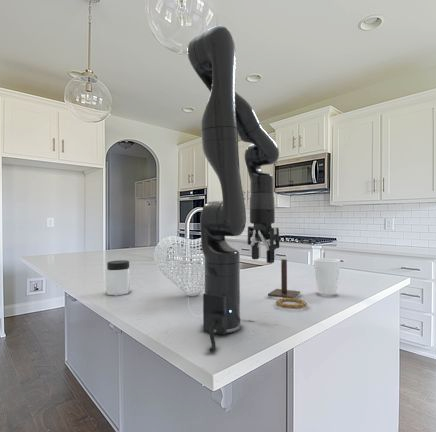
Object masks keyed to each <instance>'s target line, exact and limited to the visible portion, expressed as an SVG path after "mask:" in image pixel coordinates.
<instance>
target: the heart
mask: <svg viewBox="0 0 436 432" xmlns="http://www.w3.org/2000/svg"><path fill="white" fill-rule="evenodd" d="M174 247H175V249H174ZM178 248H179V249H178ZM191 251H193V252H191ZM174 252H175V253H174ZM201 253H202V255H201ZM191 255H192V256H191ZM194 255H195V256H194ZM153 258H154V263H155V265H156V267H157V268H158V270H159V271H160V272H161V273H162V274H163V276H164V277H165V278H167V279H168V280H169V281H171V283H173V284H174V285H175V286H176V287H177V288H179V290H180V291H182V292H183V293H184V294H185V295H187V296H189V297H195V296H198V295H199V294H200V293H202V292H203V291H205V258H204V254H203V251H202V244H201V237H199V238H196V239H191V238H190V239H189V238H187V237H186V238H185V237H182V236H178V235H169V236H166V237H164V238H162V239H161V240H160V241H158V242H157V244H156V245H155V248H154V251H153ZM187 259H188V260H187ZM191 259H192V260H191ZM198 259H199V260H198Z"/></svg>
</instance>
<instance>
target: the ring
mask: <svg viewBox="0 0 436 432" xmlns="http://www.w3.org/2000/svg"><path fill="white" fill-rule="evenodd" d="M287 302H288V303H287ZM289 302H292V304H289ZM293 303H294V304H293ZM295 303H297V304H295ZM275 304H276V306H277V307H281V308H283V309H289V310H290V309H291V310H293V309H294V310H295V309H296V310H297V309H302V308H306V307H307V306H308V303H307V302H306V301H305V300H304V299H301V298H296V297H294V298H283V297H281V298H278V299H277V300H276V301H275Z"/></svg>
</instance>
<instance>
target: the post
mask: <svg viewBox="0 0 436 432" xmlns="http://www.w3.org/2000/svg"><path fill="white" fill-rule="evenodd" d="M280 260H281V261H280V271H281V272H280V273H281V274H280V275H281V277H280V278H281V280H280V281H281V285H280V287H281V288H276V289H274V290H272V291H270V292H269V293H267V296H269V297H276V298H296V297H297V296H298V295H300V294H301V291H300V290H292V289H288V260H287V259H286V258H282V259H280Z"/></svg>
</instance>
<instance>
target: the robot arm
mask: <svg viewBox="0 0 436 432" xmlns="http://www.w3.org/2000/svg"><path fill="white" fill-rule="evenodd" d="M186 52H187V58H188V61H189V63H190V66H191V67H192V69H193V71H194V72H195V73H196V75H197V77H199V79H200V80H201V81H202V83H203V84H204V85H205V87H206V88H207V89H208V91H209V92H210V93H209V96H208V99H207V102H206V105H205V108H204V111H203V113H202V118H201V123H200V132H201V135H200V136H201V146H202V151H203V155H204V157H205V158H206V161H207V162H208V163H209V165H210V166H211V168H212V170H213V171H214V173H215V174H216V176H217V179H218V181H219V184H220V189H221V194H222V200H212V201H208V202H207V203H205V204H204V205H203V207H202V209H201V212H200V219H199V220H200V221H199V222H200V223H199V224H200V226H199V227H200V238H201V242H200V243H201V244H202V245H201V246H202V248H201V251H203V252H202V255H203V254H204V258H205V266H204V268H205V269H204V270H205V271H204V273H205V275H204V277H205V289H204V292H203V294H202V309H203V310H202V322H203V323H202V327H203V329H202V331H203V332H208V333H209V338H210V344H211V345H210V348H209V350H208V351H209V352H210V353H213V352H214V351H215V349H216V340H215V334H217V335H222V336H225V335H227V334H232V333H235V332H237V331H239V330H240V329H241V290H240V289H241V283H240V282H241V278H240V277H241V276H240V275H241V274H240V273H241V269H240V268H241V261H240V260H241V259H240V257H241V255H240V252H239V250H237V249H235V248H234V247H232V246H231V245H230V244H229V243H228V242H227V240H226V237H240V236H241V235H242V234H243V232H244V231H245V228H246V223H247V212H246V211H247V210H246V204H245V199H244V191H243V185H242V179H241V170H240V157H239V156H240V155H239V154H240V153H239V139H240V140H241V141H242V142H244V143H249V145H248V146H247V147H246V149H245V151H244V163H245V166H246V169H247V173H248V176H249V180H250V181H249V182H250V185H249V187H250V188H249V189H250V196H249V223H250V224H253V225H252V226H247V245H248V246H250V248H251V259H252V260H259V258H260V247H259V246H260V244H261V243H262V244H263V245H264V246H265V248H266V263H267V264H274V263H275V250H277V249H280V228H279V227H272V224H274V223H275V222H276V221H275V220H276V217H275V216H276V215H275V211H276V210H275V194H274V176H273V175H272V174H271V173H267V172H263V169H262V167H264V166H271V165H274V164H275V163H277V162H278V160H279V157H280V150H279V146H278V144H277V143H276V141H275V140H274V139H273V138H272V137H271V136H270V134H268V133H269V132H267V131H266V129H265V128H263V126H262V125H261V123H260V121H259V118H258V117H257V115H256V113H255V110H254V108H253V106H251V104H250V103H249V102H248V101H247V100H246V99H245V98H244V97H243V96H241V95H240V94H239V93H238V92H236V66H237V65H236V64H237V53H236V45H235V41H234V38H233V34H232V33H231V31H230V30H229V29H228V28H227V27H226V26H225V25H215V26H213V27H211V28H208V29H207V30H206V31H204V32H202V33H200V34H199V35H197V36H196V37H194V38H192V39H191V40H190V41H189V43H188V44H187V51H186Z"/></svg>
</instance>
